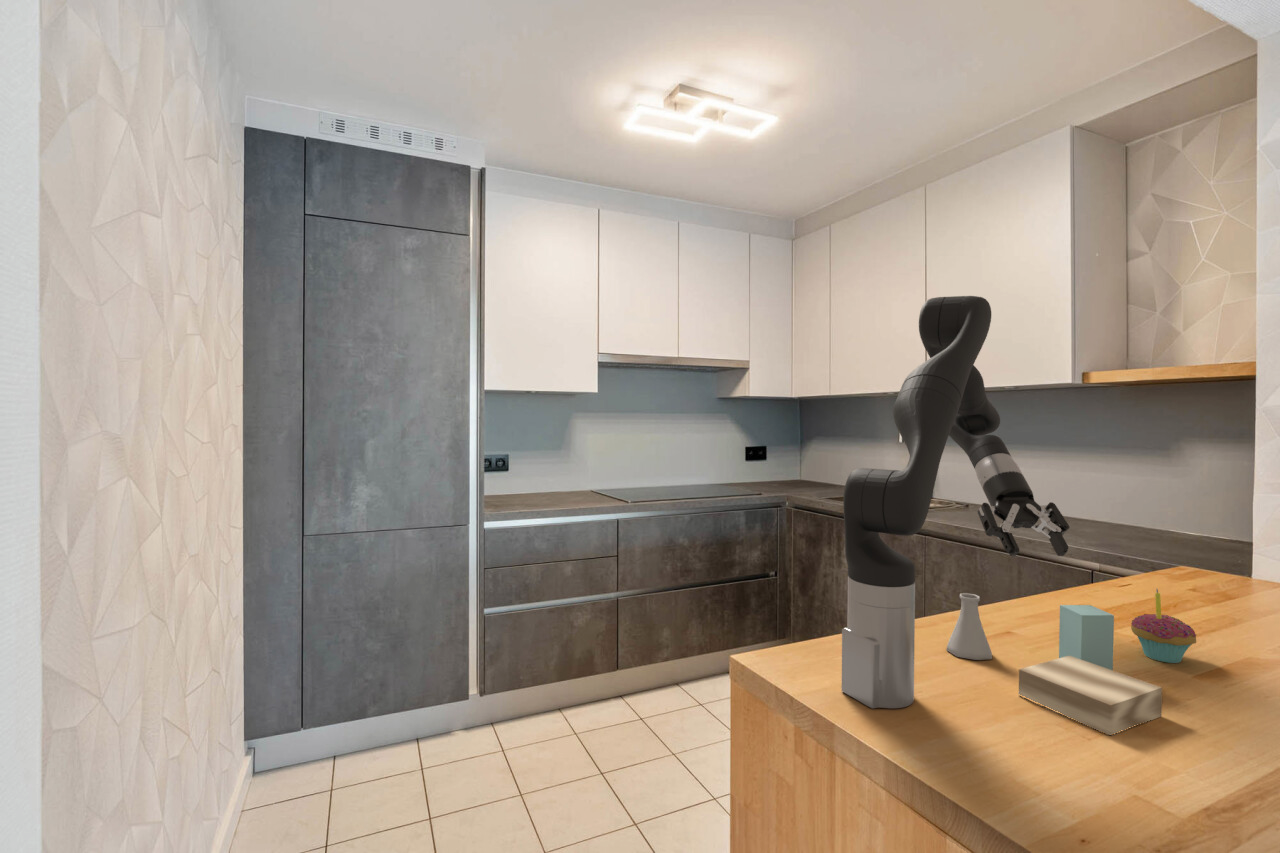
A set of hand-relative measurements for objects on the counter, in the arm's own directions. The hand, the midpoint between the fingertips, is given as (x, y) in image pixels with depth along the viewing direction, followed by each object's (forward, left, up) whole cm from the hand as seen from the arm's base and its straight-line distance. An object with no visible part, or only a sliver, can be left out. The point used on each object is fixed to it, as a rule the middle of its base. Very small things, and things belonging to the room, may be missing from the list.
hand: (1039, 553), depth 109 cm
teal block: (-5, -11, -16) cm, 20 cm away
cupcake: (+13, -13, -16) cm, 24 cm away
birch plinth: (-17, -18, -16) cm, 29 cm away
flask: (-15, +2, -17) cm, 22 cm away
